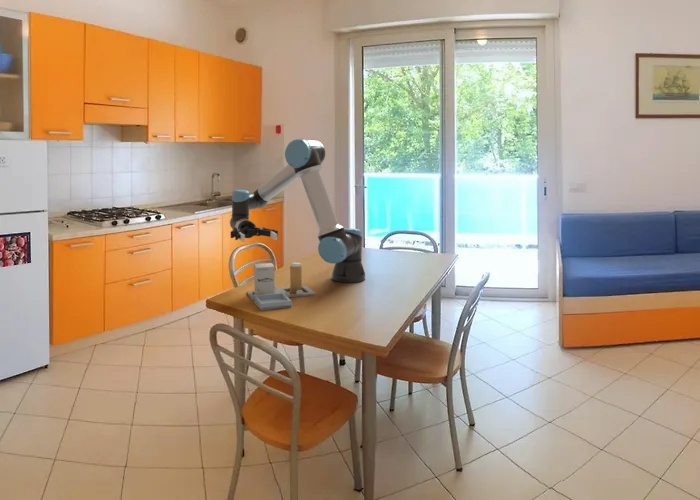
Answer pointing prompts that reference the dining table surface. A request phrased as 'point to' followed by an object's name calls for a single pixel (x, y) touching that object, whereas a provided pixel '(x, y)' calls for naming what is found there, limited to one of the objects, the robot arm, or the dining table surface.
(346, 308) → the dining table surface
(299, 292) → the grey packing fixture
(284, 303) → the tray
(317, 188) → the robot arm
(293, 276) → the amber bottle
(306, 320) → the dining table surface
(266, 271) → the supplement box
